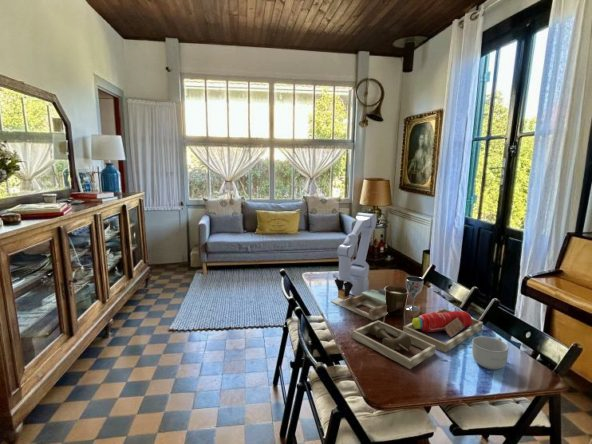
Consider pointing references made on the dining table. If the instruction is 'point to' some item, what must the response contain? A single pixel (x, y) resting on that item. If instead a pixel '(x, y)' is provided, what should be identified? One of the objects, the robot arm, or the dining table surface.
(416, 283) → the wine glass
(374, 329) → the kendama
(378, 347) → the frame
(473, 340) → the teacup
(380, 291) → the slide cover
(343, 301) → the mat
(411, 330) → the bottle frame
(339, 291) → the wooden block
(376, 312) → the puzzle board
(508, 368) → the dining table surface
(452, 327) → the water bottle
